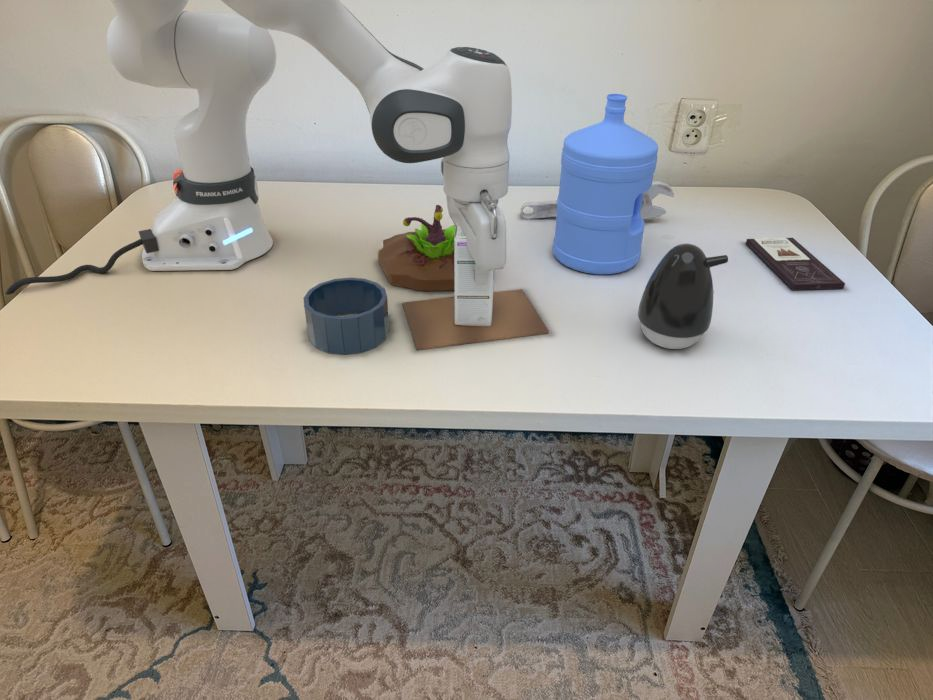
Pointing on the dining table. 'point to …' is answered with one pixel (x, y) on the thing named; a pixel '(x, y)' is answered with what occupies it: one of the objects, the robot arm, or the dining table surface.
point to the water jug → (603, 193)
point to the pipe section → (347, 330)
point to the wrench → (647, 212)
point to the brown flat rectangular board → (439, 330)
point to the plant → (420, 256)
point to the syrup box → (470, 287)
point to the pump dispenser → (679, 298)
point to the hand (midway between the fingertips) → (474, 270)
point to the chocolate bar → (794, 264)
